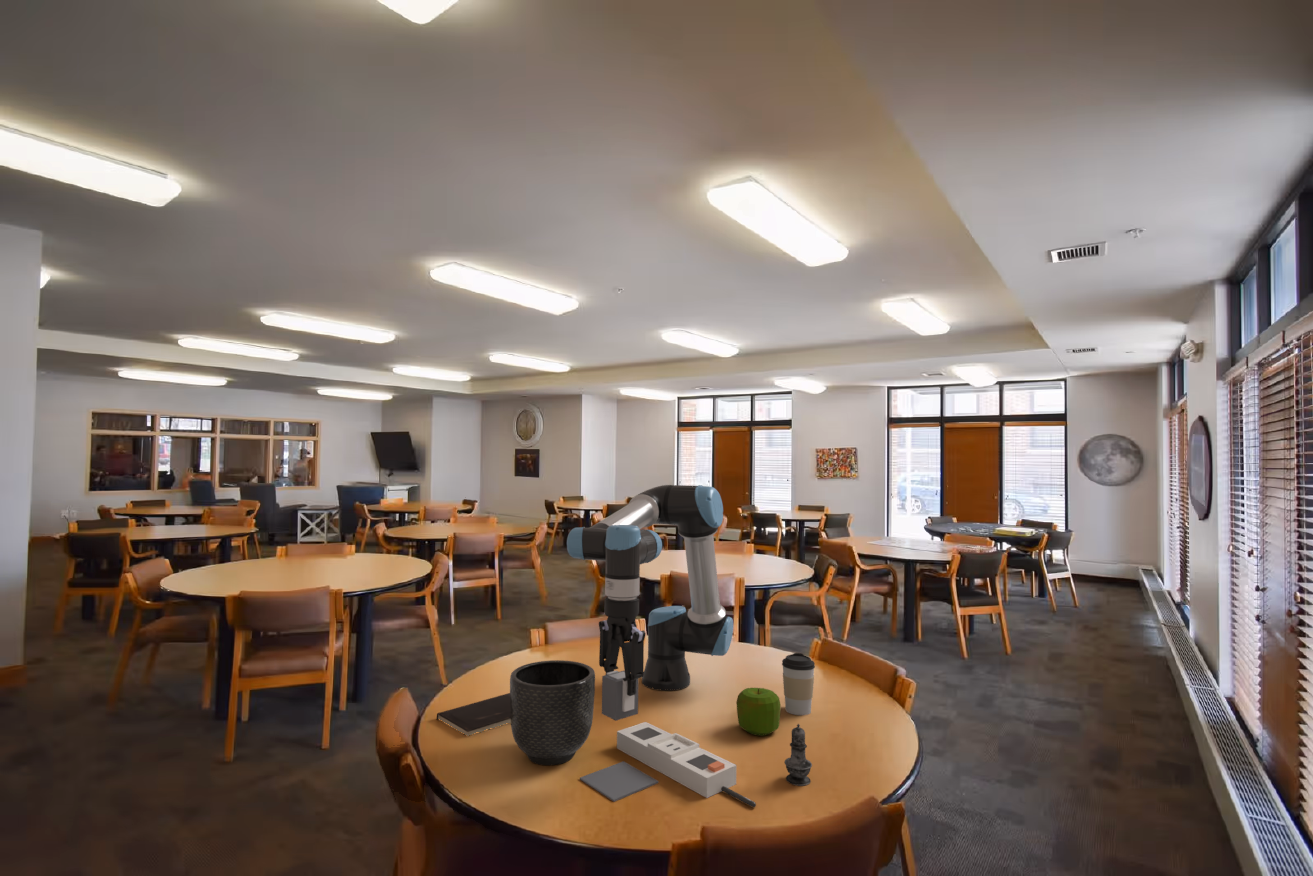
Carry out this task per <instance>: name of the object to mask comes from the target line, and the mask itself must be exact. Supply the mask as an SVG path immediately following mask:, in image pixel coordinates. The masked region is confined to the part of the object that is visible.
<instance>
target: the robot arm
mask: <svg viewBox="0 0 1313 876" xmlns="http://www.w3.org/2000/svg"><path fill="white" fill-rule="evenodd" d="M723 520H724V505H723V500H722V497H721V494H720V493H719V491H718V490H717V489H716V488H715V487H713V486H710V485H709V486H708V485H700V484H699V485H687V484H686V485H683V484H682V485H681V484H679V485H674V484H664V485H663V484H662V485H659V486H658V485H657V486H655V487H652V488H649V489H646V490H644V491H642V492H640V493H638V494H636V495H635V496H633V497H632V498H631V499H630V501H629V503H628V504H626V505H625V506H623V507H622V508H620V509H618V510H617V511H615V512H613V513H612V514H610V515H609V516H607V517H605V518H603V519H602V520H600V521H598V522H597V523H595V524H593V525H592V526H590V527H584V526H582V527H574V528H572V529H571V530H570V531H569V533H568V535H567V538H566V550H567V554H568V555H569V556H570V557H571V558H573V559H579V560H583V561H585V560H587V561H600V562H602V561H603V562H605V575H604V576H605V579H604V580H605V583H604V584H605V585H604V595H605V596H606V597H605V598H604V609H603V610H604V612H603V613H604V615H605V616H606V617H607V619H605V620H601V621H598V627H599V657H598V660H599V661H598V664H599V667H600V668H603V670H604V672H605V675H608V674H612V673H616V672H619V671H618V670H619V667H618V665H617V664H618V660H619V659H618V658H619V653H620V650H621V654H622V662H623V671H625V678H623V699H622V711H624V712H626V711H629V710H632V709H634V700H635V694H636V679H638V678H639V679H641V683H642V685H643V686H644V687H646V688H648V689H650V690H656V691H665V692H666V691H679V690H682V689H683V690H684V689H686V688H687V687H689V686H690V685H691V675H690V672H689V667H688V665H687V661H686V653H694V654H699V655H700V654H701V655H708V656H709V655H710V656H711V657H713V656H718V657H719V656H720V657H723V656H725V655H726V654H727V653H728V651H729V650H730V648H731V643H732V639H733V634H734V633H733V632H734V619H733V618H732V617H730V616H727V613H726V612H727V611H726V609H725V607H724V606H722V604H721V603H720V592H719V583H718V580H719V579H718V571H717V561H716V551H715V540H714V535H716V533H718V529H719V527H721V525H722V524H723ZM653 525H670V526H677V530H678V531H677V532H678V533H677V534H679V535H680V537H682V538H683V539H684V548H685V558H686V567H687V568H686V569H687V575H688V576H687V577H688V585H689V586H688V587H689V595H690V603H691V604H690V605H691V607H690V608H689V609H688V611H687V609H686V607H685V606H682V605H670V606H663V607H658V608H655V609H652V610H651V611H650V612H649V614H648V622H647V623H648V624H647V650H648V651H647V659H646V663H645V662H644V661H645V659H644V654H645V653H644V650H645V648H644V644H645V643H644V642H645V639H646V631H645V630H640V629H639V628H638V627H637V626H638V625H637V621H636V618H637V616H639V614H640V599H639V595H640V593H641V592H640V589H641V588H640V587H641V586H640V585H641V584H640V581H641V578H640V573H641V572H640V570H641V568H640V566H641V565H642V564H649V563H651V562H652V561H654V560H656V559H657V558H658V557H659V556H660V555H661V552H662V549H663V542H662V538H661V537H660V535H659V534H658V533H657V532H656V531H654V530H651V529H643V528H648V527H651V526H653ZM644 663H645V664H644ZM644 665H645V667H644ZM630 673H631V674H630Z"/></svg>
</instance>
